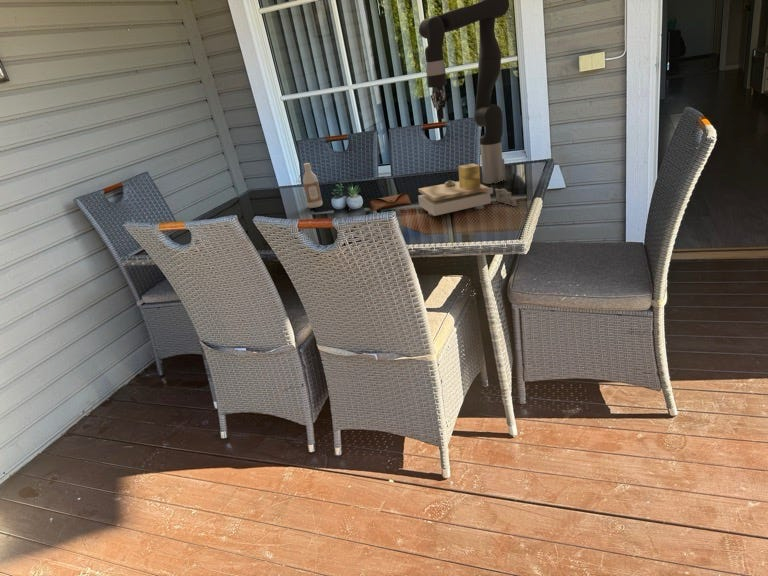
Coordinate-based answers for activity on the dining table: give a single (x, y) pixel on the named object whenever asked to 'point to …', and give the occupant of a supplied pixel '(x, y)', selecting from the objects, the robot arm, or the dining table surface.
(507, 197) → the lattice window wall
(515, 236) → the dining table surface
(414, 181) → the dining table surface
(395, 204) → the sunglasses case
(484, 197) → the base
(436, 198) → the instrument plate
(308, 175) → the tan bottle
